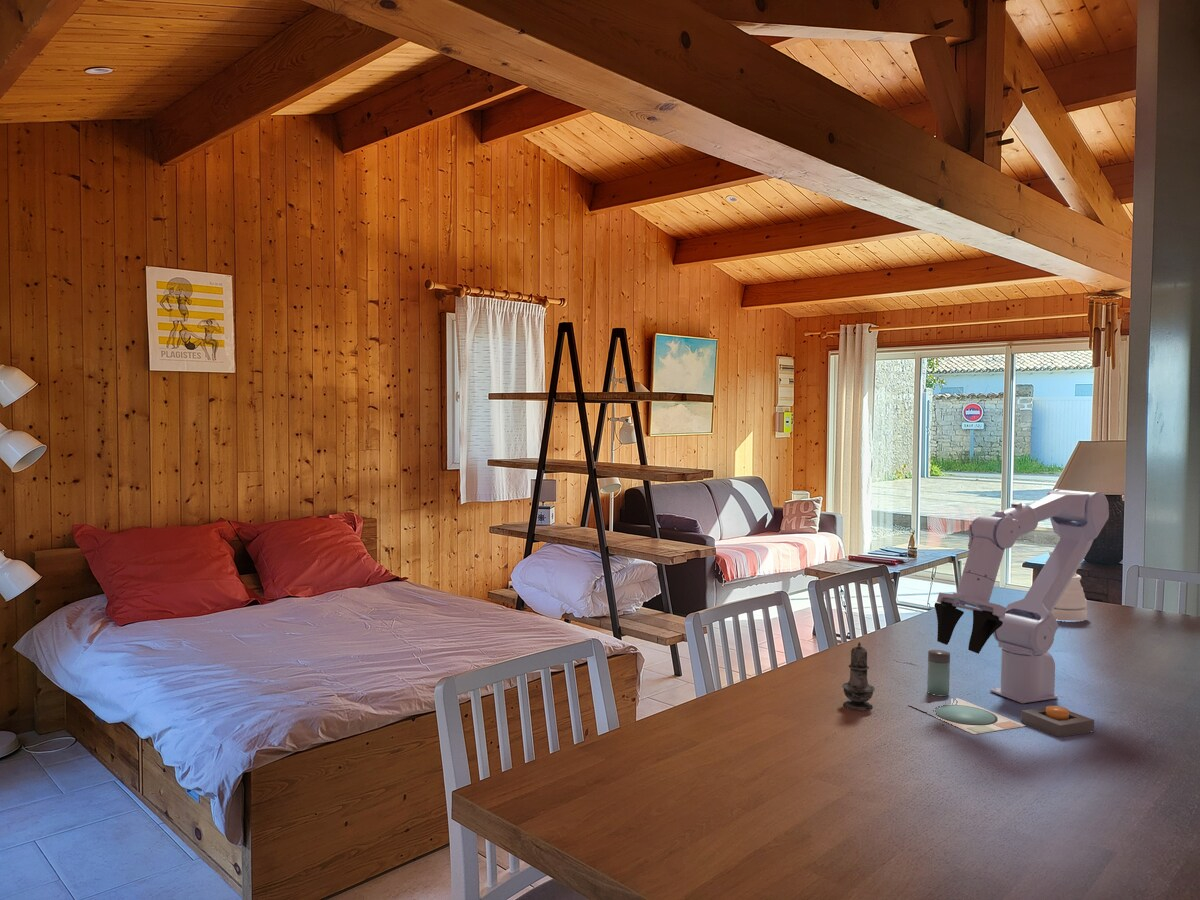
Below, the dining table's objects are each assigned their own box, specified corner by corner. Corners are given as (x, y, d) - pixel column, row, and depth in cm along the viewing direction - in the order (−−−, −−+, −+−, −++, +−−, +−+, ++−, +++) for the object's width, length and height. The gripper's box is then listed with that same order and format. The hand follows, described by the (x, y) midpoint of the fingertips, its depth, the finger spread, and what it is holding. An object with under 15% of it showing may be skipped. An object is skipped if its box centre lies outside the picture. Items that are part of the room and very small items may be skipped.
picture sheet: (957, 698, 167) (957, 697, 167) (1026, 726, 153) (1026, 725, 153) (907, 705, 163) (907, 704, 163) (973, 734, 148) (973, 733, 148)
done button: (1055, 713, 155) (1056, 704, 155) (1073, 720, 152) (1074, 711, 152) (1040, 715, 154) (1041, 706, 154) (1058, 722, 150) (1058, 713, 150)
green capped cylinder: (938, 688, 173) (939, 649, 173) (953, 694, 170) (954, 654, 169) (922, 691, 172) (923, 650, 172) (937, 697, 168) (938, 656, 168)
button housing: (1054, 716, 158) (1054, 705, 158) (1093, 731, 150) (1094, 719, 150) (1021, 721, 155) (1021, 710, 155) (1059, 737, 147) (1060, 725, 147)
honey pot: (1042, 621, 234) (1044, 554, 233) (1027, 611, 246) (1029, 547, 246) (1094, 623, 232) (1096, 556, 231) (1076, 613, 244) (1078, 549, 244)
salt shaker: (876, 712, 159) (877, 647, 158) (842, 709, 160) (844, 645, 160) (872, 702, 165) (874, 639, 164) (840, 699, 166) (841, 637, 165)
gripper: (934, 565, 168) (913, 633, 166) (994, 575, 155) (972, 649, 153) (960, 577, 171) (940, 644, 169) (1022, 588, 157) (1000, 661, 155)
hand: (957, 647), depth 161 cm, fingers open, 7 cm apart
